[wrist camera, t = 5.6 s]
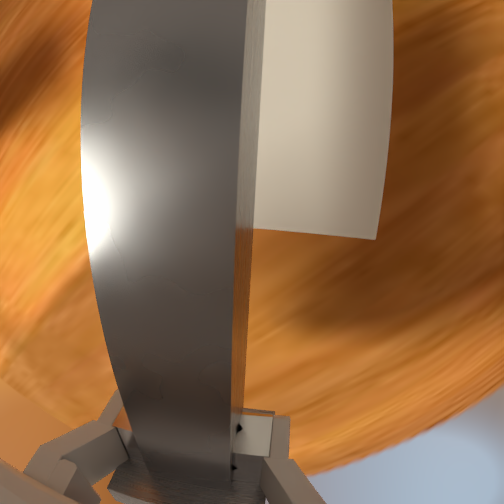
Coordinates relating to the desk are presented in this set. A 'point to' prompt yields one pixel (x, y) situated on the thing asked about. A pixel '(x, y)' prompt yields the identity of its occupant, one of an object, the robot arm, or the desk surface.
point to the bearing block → (324, 116)
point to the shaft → (174, 231)
